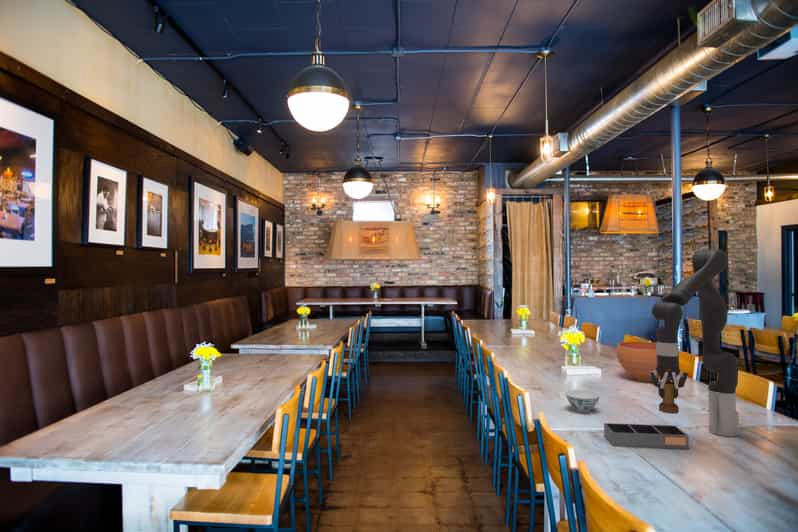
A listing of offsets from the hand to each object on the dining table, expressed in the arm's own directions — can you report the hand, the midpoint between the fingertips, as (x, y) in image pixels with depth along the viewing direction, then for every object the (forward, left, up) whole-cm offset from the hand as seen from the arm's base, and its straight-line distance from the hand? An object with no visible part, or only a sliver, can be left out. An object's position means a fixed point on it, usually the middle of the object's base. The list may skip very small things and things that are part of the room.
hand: (668, 397), depth 180 cm
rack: (+9, 0, -18) cm, 20 cm away
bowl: (-27, -104, -18) cm, 109 cm away
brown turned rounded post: (0, 0, -5) cm, 5 cm away
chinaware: (+23, -39, -18) cm, 49 cm away
